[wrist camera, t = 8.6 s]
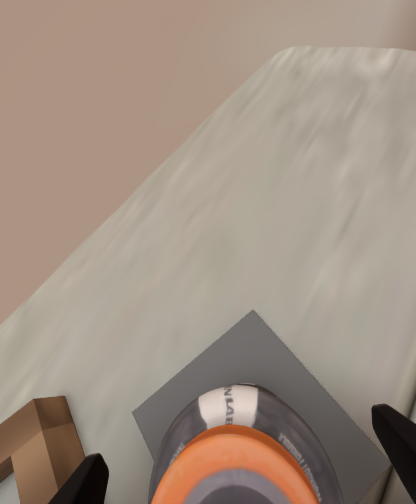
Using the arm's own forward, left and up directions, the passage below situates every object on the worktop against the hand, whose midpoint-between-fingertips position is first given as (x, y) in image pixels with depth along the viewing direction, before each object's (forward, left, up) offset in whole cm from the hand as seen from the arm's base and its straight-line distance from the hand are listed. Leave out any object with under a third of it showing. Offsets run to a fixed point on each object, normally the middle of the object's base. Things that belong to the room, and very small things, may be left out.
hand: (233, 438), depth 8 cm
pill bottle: (-1, +1, -9) cm, 9 cm away
